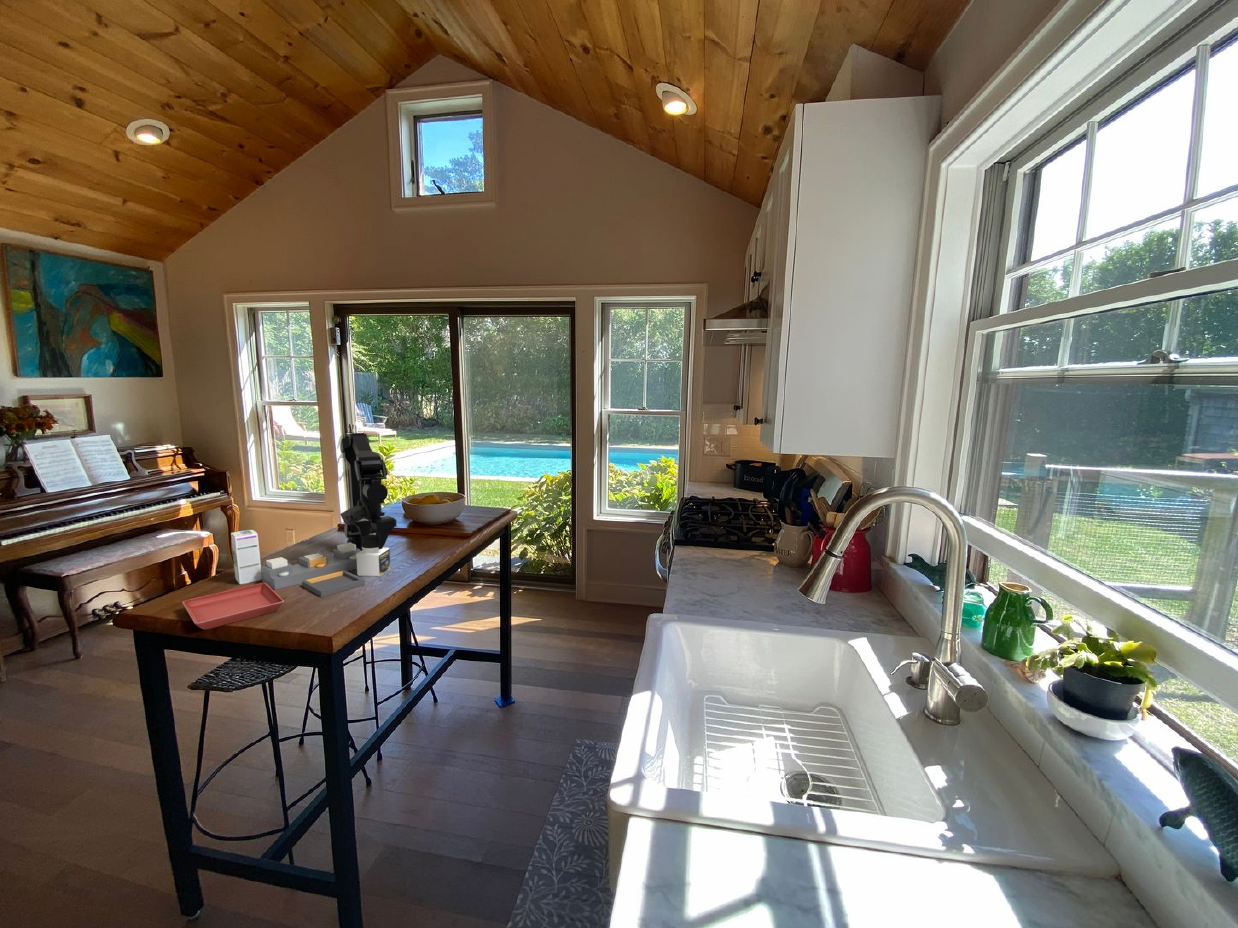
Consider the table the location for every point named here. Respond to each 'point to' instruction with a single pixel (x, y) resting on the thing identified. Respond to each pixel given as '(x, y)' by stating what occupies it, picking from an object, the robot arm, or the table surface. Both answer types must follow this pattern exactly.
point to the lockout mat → (333, 583)
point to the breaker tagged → (313, 556)
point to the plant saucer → (232, 605)
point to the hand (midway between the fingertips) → (372, 545)
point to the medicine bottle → (372, 558)
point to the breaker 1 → (276, 563)
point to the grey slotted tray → (309, 569)
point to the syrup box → (246, 556)
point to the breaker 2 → (346, 547)
